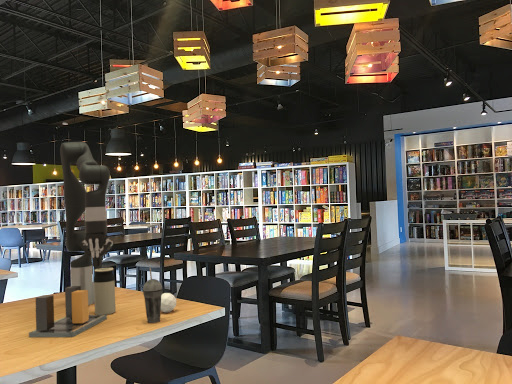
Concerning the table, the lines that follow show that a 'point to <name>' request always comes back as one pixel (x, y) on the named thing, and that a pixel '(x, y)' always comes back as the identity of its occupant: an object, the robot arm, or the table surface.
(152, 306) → the beverage cup
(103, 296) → the travel mug
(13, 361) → the table surface
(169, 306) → the geometric ball
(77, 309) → the handle
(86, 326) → the panel
